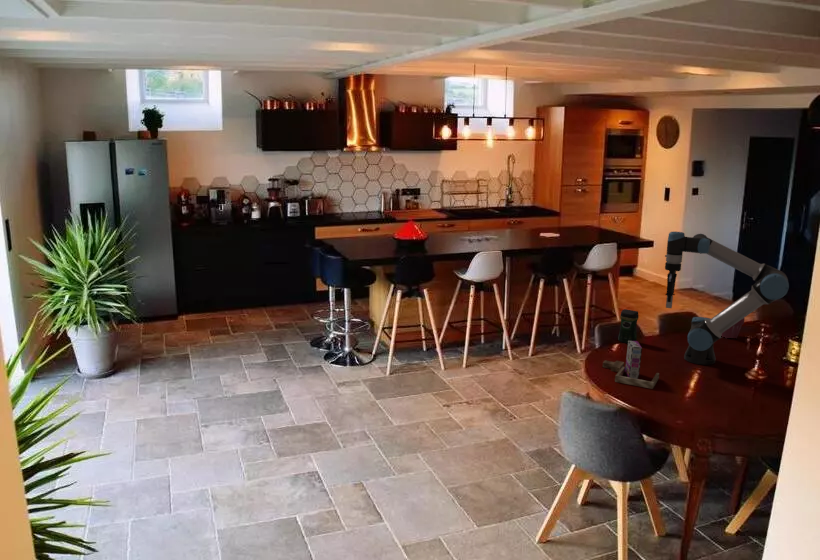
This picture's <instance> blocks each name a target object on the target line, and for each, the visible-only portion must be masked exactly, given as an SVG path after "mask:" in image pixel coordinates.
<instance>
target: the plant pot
mask: <svg viewBox="0 0 820 560" xmlns="http://www.w3.org/2000/svg"><path fill="white" fill-rule="evenodd" d="M745 318H746V317H744V318H743V319H742V320H740V321H739V322H737V323H736V324H734V325H733V326H732V327H730V328H729V329H727V330H726V331H724V332H723V333H722V337H721V338H723V337H725V338H724V339H727V338H736V339H738V336H739V334H740V331H741V328H742V327H743V326H742V325H744V324H745Z"/></svg>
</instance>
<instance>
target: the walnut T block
mask: <svg viewBox="0 0 820 560" xmlns="http://www.w3.org/2000/svg"><path fill="white" fill-rule="evenodd" d="M622 367H625V362H624V361H620V360H616V361H609V360H603V362H602V368H605V369H610V371H611V372H616V373H618V372H619V371H620V369H621V368H622Z"/></svg>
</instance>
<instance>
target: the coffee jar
mask: <svg viewBox="0 0 820 560" xmlns="http://www.w3.org/2000/svg"><path fill="white" fill-rule="evenodd" d="M639 318H640V317H639V311H637V310H633V309H626V308H624V309H622V310H621V311H620V327H619V332H618V333H619V334H618V342H621V343H625V344H628V341H637V339H638V338H637V337H638V336H637V335H638V334H637V325H638V324H637V323H638V320H639Z"/></svg>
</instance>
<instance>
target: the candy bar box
mask: <svg viewBox="0 0 820 560" xmlns="http://www.w3.org/2000/svg"><path fill="white" fill-rule="evenodd" d="M642 351H643V347H642V346H641V344H640V342H639V341H628V343H627V349H626V358H625V366H624V367H625V374H626V377H629V378H635V379H640V371H641V360H642Z"/></svg>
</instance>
